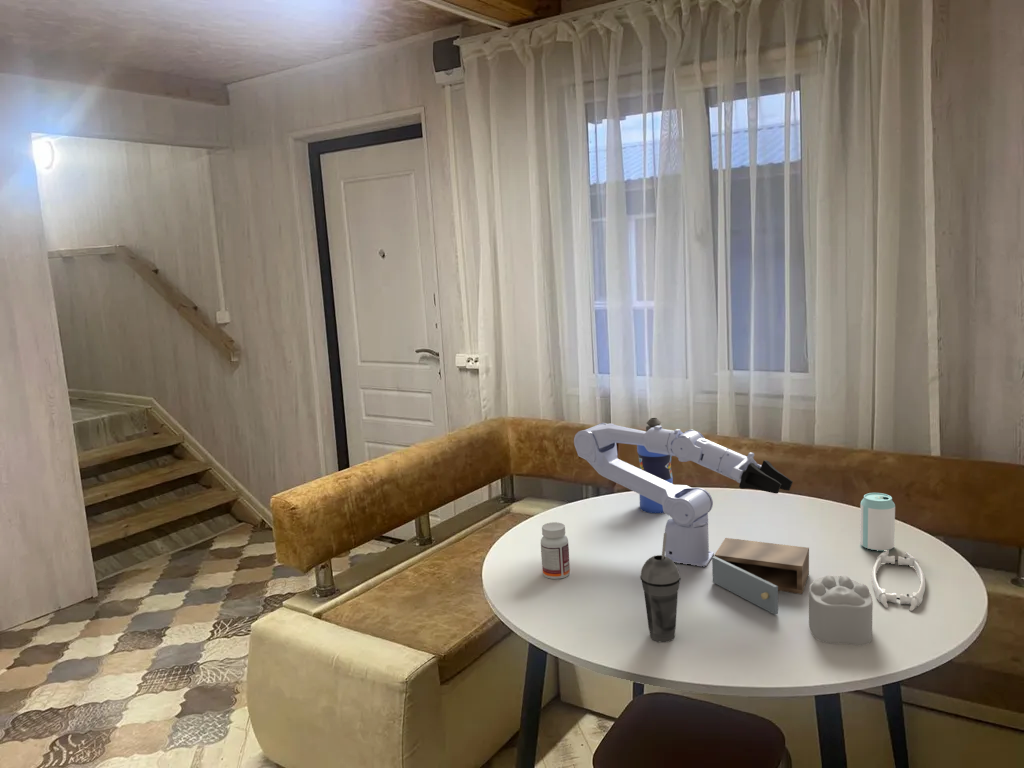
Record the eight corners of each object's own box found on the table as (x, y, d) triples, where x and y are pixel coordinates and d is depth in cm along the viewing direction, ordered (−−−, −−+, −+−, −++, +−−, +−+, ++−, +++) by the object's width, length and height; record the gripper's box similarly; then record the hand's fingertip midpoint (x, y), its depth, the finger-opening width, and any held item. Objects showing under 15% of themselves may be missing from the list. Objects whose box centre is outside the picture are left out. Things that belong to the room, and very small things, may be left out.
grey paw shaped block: (813, 642, 138) (813, 597, 137) (805, 608, 150) (805, 566, 149) (876, 646, 135) (877, 600, 134) (863, 611, 148) (863, 569, 146)
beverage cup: (638, 628, 147) (634, 528, 143) (675, 624, 148) (672, 524, 144) (648, 647, 140) (644, 543, 136) (687, 643, 140) (684, 539, 137)
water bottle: (639, 513, 207) (635, 423, 203) (639, 502, 216) (636, 415, 212) (674, 513, 206) (672, 422, 201) (673, 501, 215) (670, 414, 210)
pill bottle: (563, 566, 177) (560, 519, 175) (574, 576, 172) (571, 528, 170) (538, 571, 175) (535, 524, 173) (549, 582, 170) (546, 533, 168)
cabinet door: (709, 583, 163) (708, 558, 162) (715, 581, 164) (715, 556, 163) (771, 616, 148) (770, 588, 147) (778, 613, 148) (777, 586, 147)
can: (877, 538, 181) (878, 489, 179) (901, 549, 174) (902, 498, 172) (853, 544, 179) (853, 494, 176) (876, 555, 172) (877, 503, 170)
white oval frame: (922, 563, 168) (927, 615, 145) (872, 558, 172) (870, 607, 150) (922, 551, 167) (928, 601, 145) (872, 546, 171) (870, 594, 149)
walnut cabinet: (715, 581, 164) (714, 554, 163) (725, 563, 173) (725, 537, 172) (802, 594, 156) (802, 566, 155) (808, 574, 165) (809, 547, 164)
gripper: (718, 445, 160) (780, 471, 153) (743, 443, 172) (802, 467, 164) (707, 476, 162) (768, 504, 154) (732, 472, 173) (790, 497, 166)
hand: (785, 487), depth 159 cm, fingers open, 7 cm apart
